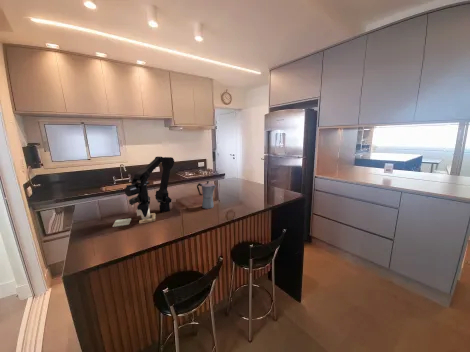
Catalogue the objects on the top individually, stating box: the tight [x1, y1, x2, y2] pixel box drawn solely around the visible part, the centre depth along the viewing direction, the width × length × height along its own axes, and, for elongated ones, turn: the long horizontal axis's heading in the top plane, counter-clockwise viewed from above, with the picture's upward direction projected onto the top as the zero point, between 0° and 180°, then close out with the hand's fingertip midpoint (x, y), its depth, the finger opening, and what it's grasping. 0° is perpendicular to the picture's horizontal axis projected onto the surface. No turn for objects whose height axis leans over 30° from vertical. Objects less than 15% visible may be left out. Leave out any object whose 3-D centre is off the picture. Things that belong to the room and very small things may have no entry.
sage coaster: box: [112, 218, 132, 228], centre depth 127 cm, size 9×9×1 cm
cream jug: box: [135, 208, 152, 220], centre depth 131 cm, size 8×5×9 cm
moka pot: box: [196, 180, 217, 210], centre depth 149 cm, size 10×15×20 cm, turn 78°
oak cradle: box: [138, 212, 156, 224], centre depth 132 cm, size 9×11×2 cm
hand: (145, 214), depth 131 cm, fingers open, 7 cm apart
